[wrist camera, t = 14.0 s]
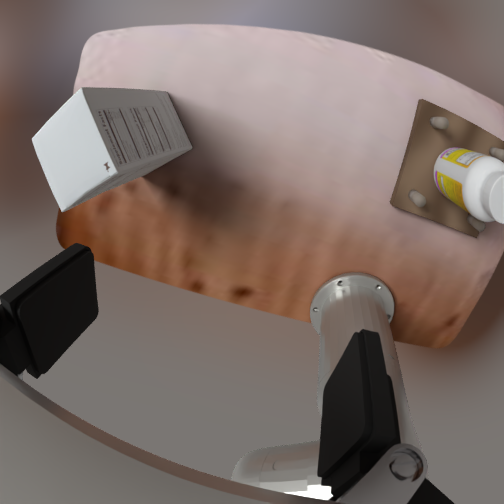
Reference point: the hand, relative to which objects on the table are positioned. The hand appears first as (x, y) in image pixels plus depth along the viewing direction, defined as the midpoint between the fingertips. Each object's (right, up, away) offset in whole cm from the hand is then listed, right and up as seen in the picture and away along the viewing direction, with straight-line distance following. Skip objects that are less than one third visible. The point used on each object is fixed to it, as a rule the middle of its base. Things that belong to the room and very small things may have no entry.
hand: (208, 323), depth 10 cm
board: (+27, +13, +22) cm, 37 cm away
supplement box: (-12, +18, +28) cm, 36 cm away
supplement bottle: (+26, +12, +21) cm, 36 cm away
